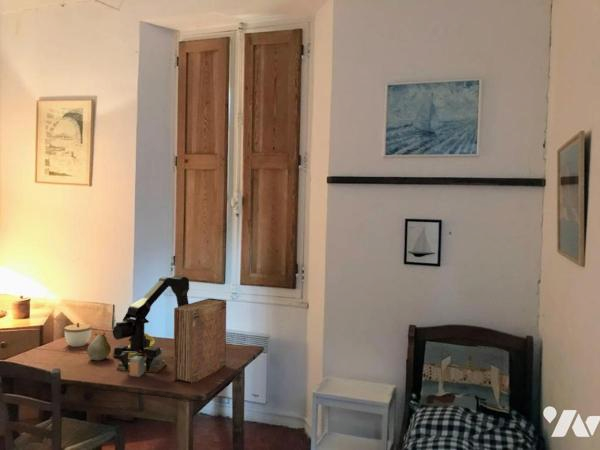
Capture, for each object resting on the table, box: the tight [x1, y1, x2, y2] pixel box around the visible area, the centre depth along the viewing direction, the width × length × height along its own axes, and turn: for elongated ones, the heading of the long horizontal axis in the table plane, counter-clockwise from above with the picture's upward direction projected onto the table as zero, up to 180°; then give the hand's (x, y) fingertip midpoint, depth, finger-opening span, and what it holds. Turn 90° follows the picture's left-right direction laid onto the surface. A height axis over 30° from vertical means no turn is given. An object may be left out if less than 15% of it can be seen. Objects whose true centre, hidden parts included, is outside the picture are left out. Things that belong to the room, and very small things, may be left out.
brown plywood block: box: [172, 298, 227, 384], centre depth 226 cm, size 25×9×30 cm, turn 156°
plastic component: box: [112, 332, 156, 358], centre depth 253 cm, size 20×7×10 cm
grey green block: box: [129, 355, 145, 378], centre depth 223 cm, size 6×4×7 cm
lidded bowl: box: [63, 322, 92, 348], centre depth 265 cm, size 13×13×11 cm
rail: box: [116, 348, 167, 374], centre depth 232 cm, size 18×11×8 cm, turn 82°
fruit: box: [86, 331, 112, 361], centre depth 242 cm, size 10×9×12 cm
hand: (137, 371), depth 223 cm, fingers open, 9 cm apart
